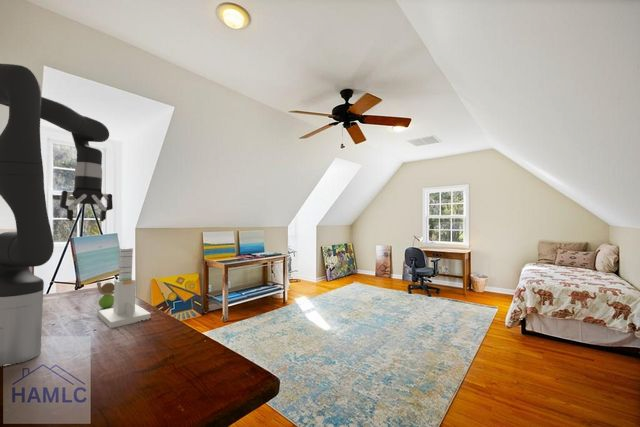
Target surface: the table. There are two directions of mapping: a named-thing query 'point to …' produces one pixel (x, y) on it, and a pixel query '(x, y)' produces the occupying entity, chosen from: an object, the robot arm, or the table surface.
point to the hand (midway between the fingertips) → (86, 221)
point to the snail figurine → (106, 294)
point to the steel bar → (125, 264)
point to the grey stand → (123, 306)
